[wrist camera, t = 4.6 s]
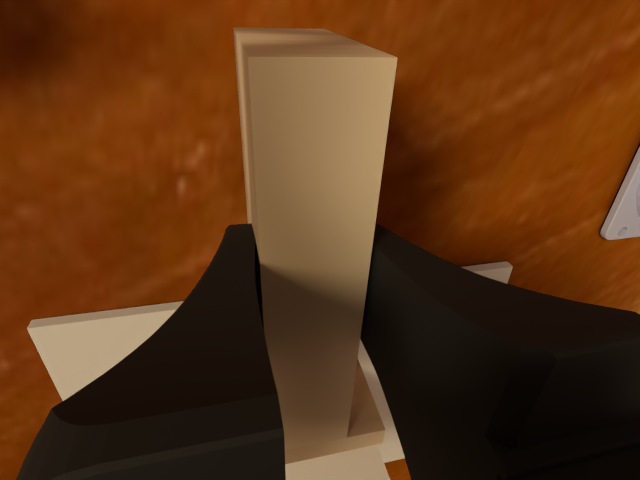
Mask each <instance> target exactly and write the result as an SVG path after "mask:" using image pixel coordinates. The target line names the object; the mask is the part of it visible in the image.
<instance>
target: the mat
mask: <svg viewBox="0 0 640 480" xmlns="http://www.w3.org/2000/svg"><path fill="white" fill-rule="evenodd" d="M462 268H464V269H467V270H469V271H472V272H474V273H477V274H479V275H482V276H485V277H488V278H491V279H494V280H497V281H500V282H503V283H508V280H509V277H510V274H511V271H512V269H513V266H512V265H511V264H510V263H508V262H507V261H505V262H497V263H489V264H481V265H473V266H464V267H462ZM183 302H184V301H181V302H173V303H165V304H157V305H148V306H140V307H132V308H124V309H116V310H108V311H100V312H92V313H84V314H76V315H67V316H59V317H51V318H43V319H35V320H31V322H30V324H29V326H28V327H27V330H28V332H29V334H30V336H31V338H32V340H33V342H34V344H35V346H36V348H37V350H38V352H39V354H40V356H41V358H42V360H43V362H44V364H45V366H46V368H47V370H48V372H49V374H50V376H51V378H52V380H53V382H54V384H55V386H56V388H57V390H58V392H59V394H60V396H61V398H62V400H63V401H64V400H66V399H67V398H69V397H70V396H72V395H73V394H75V393H76V392H77V391H79V390H80V389H82V388H83V387H85V386H86V385H88V384H89V383H91V382H92V381H94V380H95V379H97V378H98V377H100V376H101V375H103V374H104V373H105V372H107V371H108V370H109V369H111V368H112V367H113V366H115V365H116V364H117V363H119V362H120V361H121V360H123V359H124V358H125V357H126V356H128V355H129V354H130V353H131V352H133V351H134V350H135V349H136V348H137V347H139V346H140V345H141V344H142V343H143V342H145V341H146V340H147V339H148V338H149V337H150V336H151V335H152V334H153V333H155V332H156V331H157V330H158V329H159V328H160V327H161V326H162V325H163V324H164V323H165V321H166V320H167V319H168V318H169V317H170V316H171V315H172V314H173V313H174V312H175V311H176V310H177V309H178V308H179V306H180V305H181V304H182V303H183ZM358 360H359V363H360V365H361V368H362V371H363V373H364V376H365V378H366V381H367V383H368V386H369V389H370V391H371V394H372V396H373V399H374V401H375V404H376V407H377V409H378V412H379V414H380V417H381V419H382V422H383V425H384V427H385V434H384V439H383V443H382V444H377V446H378V448H379V451H380V454H381V457H382V459H383V462H384V463H385V462H390V461H394V460H398V459H403V458H405V456H404V453H403V450H402V447H401V444H400V440H399V437H398V434H397V431H396V428H395V425H394V422H393V419H392V416H391V413H390V410H389V407H388V404H387V401H386V398H385V396H384V393H383V390H382V387H381V384H380V381H379V379H378V376H377V374H376V371H375V369H374V367H373V364H372V362H371V360H370V358H369V356H368V354H367V352H366V350H365V348H364V346H363V343H362V341H361V339H360V344H359V351H358Z"/></svg>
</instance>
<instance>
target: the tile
mask: <svg viewBox="0 0 640 480" xmlns="http://www.w3.org/2000/svg"><path fill="white" fill-rule="evenodd" d="M285 473H286V480H390V478H389V476H388V473H387V470H386V467H385V465H384V462H383V459H382V457H381V454H380V451H379V448H378V446H377V445H372V446H368V447H363V448H359V449H354V450H349V451H345V452H340V453H336V454H331V455H326V456H322V457H317V458H312V459H308V460H303V461H299V462H294V463H289V464H285Z"/></svg>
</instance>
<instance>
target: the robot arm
mask: <svg viewBox="0 0 640 480" xmlns="http://www.w3.org/2000/svg"><path fill="white" fill-rule="evenodd" d="M600 234H601V236H602V237H603V238H605V239H607V240H615V239H623V238H632V237H640V146H639V149H638V151H637V153H636V155H635V157H634V159H633V162H632V164H631V166H630V168H629V170H628V172H627V175H626V177H625V179H624V181H623V183H622V185H621V188H620V190H619V192H618V194H617V196H616V198H615V201H614V203H613V205H612V207H611V209H610V211H609V214H608V216H607V218H606V220H605V222H604V224H603V227H602V229H601V232H600ZM360 339H361V341H362V343H363V346H364V348H365V350H366V352H367V354H368V356H369V358H370V360H371V362H372V364H373V367H374V369H375V371H376V374H377V376H378V379H379V381H380V384H381V387H382V390H383V393H384V396H385V398H386V401H387V404H388V407H389V410H390V413H391V416H392V419H393V422H394V425H395V428H396V431H397V434H398V437H399V440H400V444H401V447H402V450H403V453H404V456H405V460H406V463H407V466H408V470H409V473H410V476H411V480H640V314H638V313H636V312H632V311H627V310H621V309H615V308H610V307H604V306H598V305H593V304H587V303H581V302H576V301H571V300H567V299H563V298H559V297H554V296H550V295H546V294H542V293H538V292H534V291H530V290H527V289H523V288H519V287H516V286H513V285H510V284H507V283H503V282H500V281H497V280H494V279H491V278H488V277H485V276H482V275H479V274H477V273H474V272H472V271H469V270H467V269H464V268H462V267H459V266H457V265H454V264H452V263H450V262H448V261H445V260H443V259H441V258H439V257H437V256H435V255H433V254H431V253H429V252H427V251H425V250H423V249H421V248H419V247H417V246H415V245H413V244H411V243H410V242H408V241H406V240H404V239H403V238H401V237H399V236H397V235H396V234H394V233H392V232H390V231H389V230H387V229H385V228H383V227H382V226H380V225H378V224H377V223H375V231H374V238H373V246H372V253H371V261H370V268H369V276H368V283H367V291H366V299H365V306H364V314H363V321H362V329H361V336H360ZM16 480H286V473H285V441H284V429H283V422H282V416H281V410H280V404H279V398H278V392H277V388H276V384H275V380H274V376H273V372H272V368H271V363H270V359H269V355H268V350H267V345H266V341H265V336H264V331H263V326H262V321H261V315H260V303H259V288H258V273H257V258H256V243H255V235H254V231H253V227H252V223H250V224H238V225H229V226H228V227H227V228H226V230H225V234H224V237H223V240H222V242H221V244H220V246H219V248H218V250H217V252H216V254H215V256H214V258H213V260H212V261H211V263H210V265H209V267H208V268H207V270H206V271H205V273H204V274H203V276H202V277H201V279H200V280H199V282H198V283H197V285H196V286H195V288H194V289H193V290H192V292H191V293H190V294H189V296H188V297H187V298H186V299H185V301H184V302H183V303H182V304H181V305H180V306H179V308H178V309H177V310H176V311H175V312H174V313H173V314H172V315H171V316H170V317H169V318H168V319H167V320H166V321H165V323H164V324H163V325H162V326H161V327H160V328H159V329H158V330H157V331H156V332H155V333H153V334H152V335H151V336H150V337H149V338H148V339H147V340H146V341H145V342H143V343H142V344H141V345H140V346H139V347H137V348H136V349H135V350H134V351H133V352H131V353H130V354H129V355H128V356H126V357H125V358H124V359H123V360H121V361H120V362H119V363H117V364H116V365H115V366H113V367H112V368H111V369H109V370H108V371H107V372H105V373H104V374H103V375H101V376H100V377H98V378H97V379H95V380H94V381H92V382H91V383H89V384H88V385H86V386H85V387H83V388H82V389H80V390H79V391H77V392H76V393H75V394H73V395H72V396H70V397H69V398H67V399H66V400H64V401H63V402H61V403H59V404H58V405H56V406H55V407H53V408H52V409H51V410H50V412H49V414H48V416H47V418H46V420H45V422H44V424H43V426H42V427H41V429H40V431H39V433H38V434H37V436H36V438H35V440H34V442H33V444H32V446H31V448H30V450H29V452H28V454H27V456H26V458H25V460H24V462H23V465H22V467H21V469H20V472H19V474H18V477H17V479H16Z"/></svg>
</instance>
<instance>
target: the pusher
mask: <svg viewBox="0 0 640 480" xmlns="http://www.w3.org/2000/svg"><path fill="white" fill-rule="evenodd" d="M233 31H234V44H235V57H236V71H237V84H238V97H239V111H240V124H241V137H242V151H243V164H244V177H245V191H246V204H247V217H248V224H250V223H252V227H253V231H254V235H255V243H256V258H257V273H258V288H259V303H260V315H261V321H262V326H263V331H264V336H265V341H266V345H267V350H268V355H269V359H270V363H271V368H272V372H273V376H274V380H275V384H276V388H277V392H278V398H279V404H280V410H281V416H282V422H283V429H284V441H285V464H289V463H294V462H299V461H303V460H308V459H312V458H317V457H322V456H326V455H331V454H336V453H340V452H345V451H349V450H354V449H359V448H363V447H368V446H372V445H377V444H382V443H383V439H384V434H385V427H384V425H383V422H382V419H381V417H380V414H379V412H378V409H377V407H376V404H375V401H374V399H373V396H372V394H371V391H370V389H369V386H368V383H367V381H366V378H365V376H364V373H363V371H362V368H361V365H360V363H359V360H358V351H359V344H360V336H361V329H362V321H363V314H364V306H365V299H366V291H367V283H368V276H369V268H370V261H371V253H372V246H373V238H374V231H375V223H376V216H377V208H378V201H379V193H380V185H381V178H382V170H383V163H384V155H385V148H386V140H387V133H388V125H389V118H390V110H391V103H392V95H393V88H394V80H395V72H396V65H397V57H395V56H392V55H390V54H387V53H385V52H382V51H379V50H377V49H374V48H372V47H369V46H367V45H364V44H362V43H359V42H356V41H354V40H351V39H349V38H346V37H344V36H341V35H339V34H336V33H333V32H331V31H328V30H326V29H296V28H250V27H233Z"/></svg>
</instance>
